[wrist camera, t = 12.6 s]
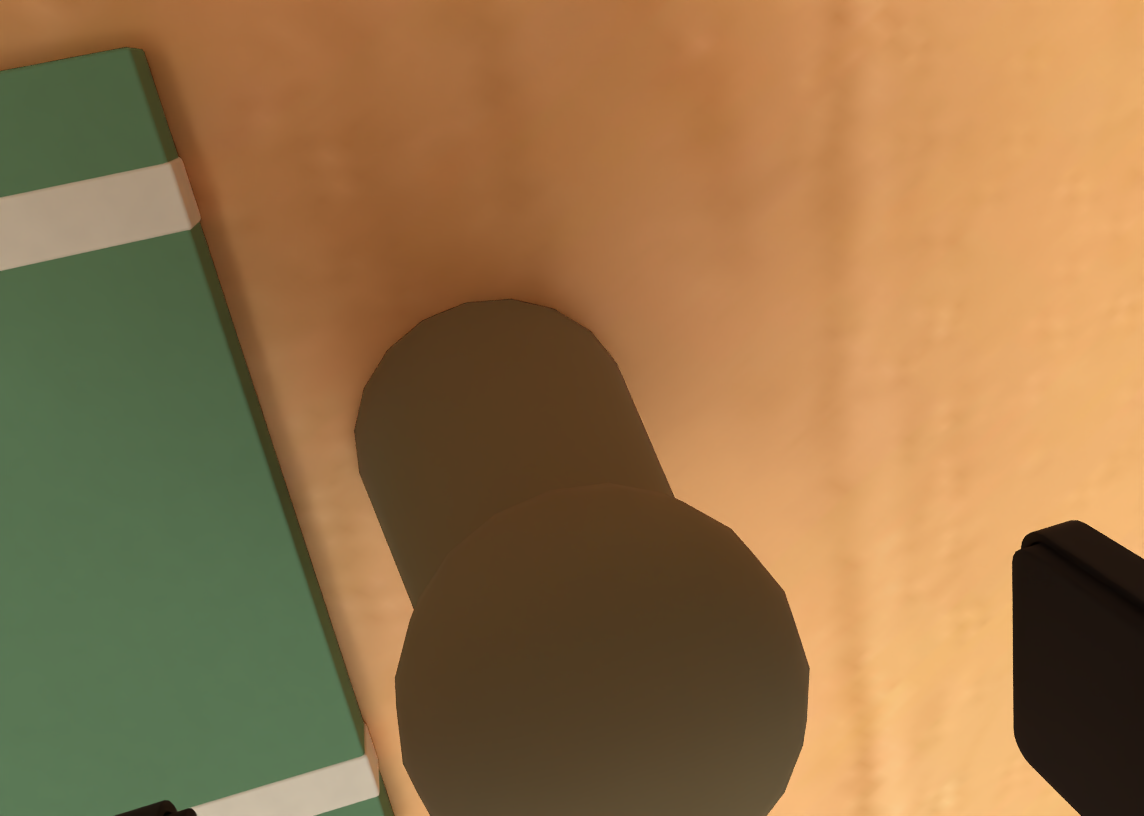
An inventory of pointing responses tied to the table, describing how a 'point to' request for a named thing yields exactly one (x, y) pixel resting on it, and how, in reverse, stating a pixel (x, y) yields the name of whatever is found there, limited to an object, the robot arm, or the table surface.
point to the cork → (566, 588)
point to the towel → (144, 493)
